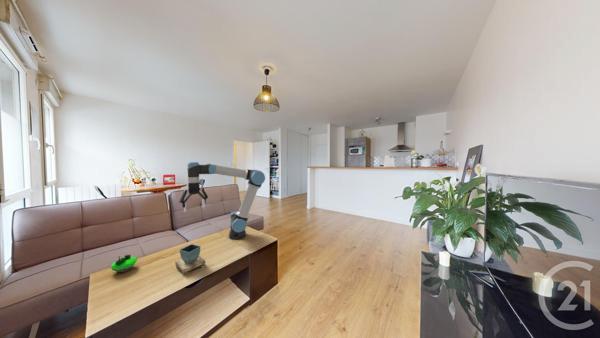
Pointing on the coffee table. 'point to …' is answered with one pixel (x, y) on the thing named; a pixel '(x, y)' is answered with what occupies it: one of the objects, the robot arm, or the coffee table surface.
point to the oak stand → (189, 265)
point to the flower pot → (190, 253)
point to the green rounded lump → (124, 263)
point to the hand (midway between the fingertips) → (194, 209)
